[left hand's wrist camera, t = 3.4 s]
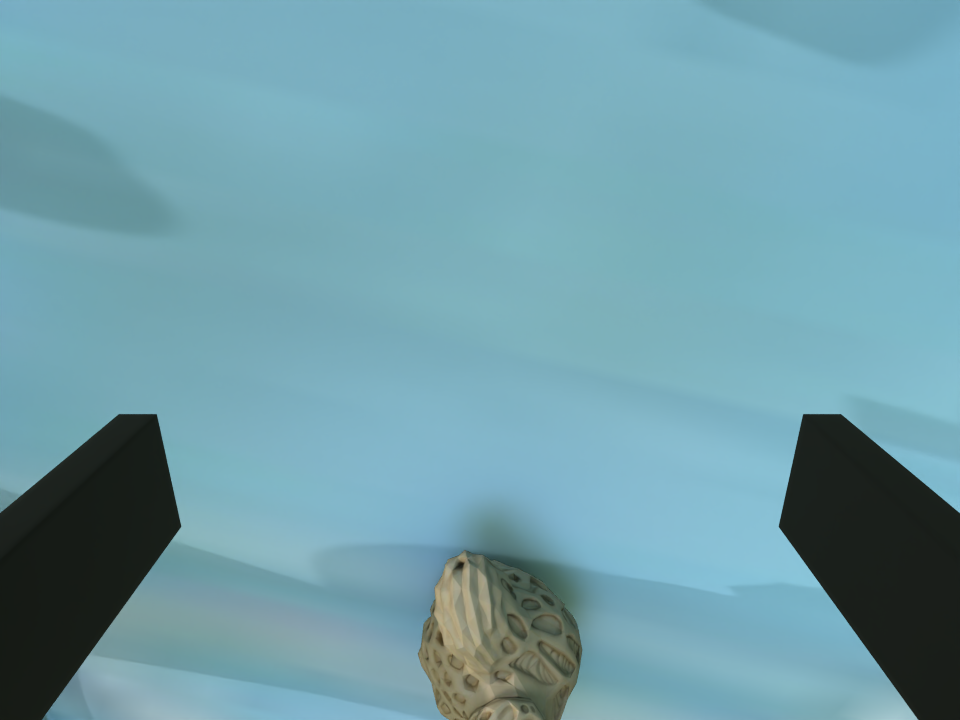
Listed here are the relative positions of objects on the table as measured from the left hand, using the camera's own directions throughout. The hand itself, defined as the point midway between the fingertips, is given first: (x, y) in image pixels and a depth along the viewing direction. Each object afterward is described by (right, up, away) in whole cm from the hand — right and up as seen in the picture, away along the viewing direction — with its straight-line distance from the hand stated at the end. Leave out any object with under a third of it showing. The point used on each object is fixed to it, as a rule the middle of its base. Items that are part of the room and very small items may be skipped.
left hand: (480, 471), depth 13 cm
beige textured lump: (+2, -17, +37) cm, 41 cm away
